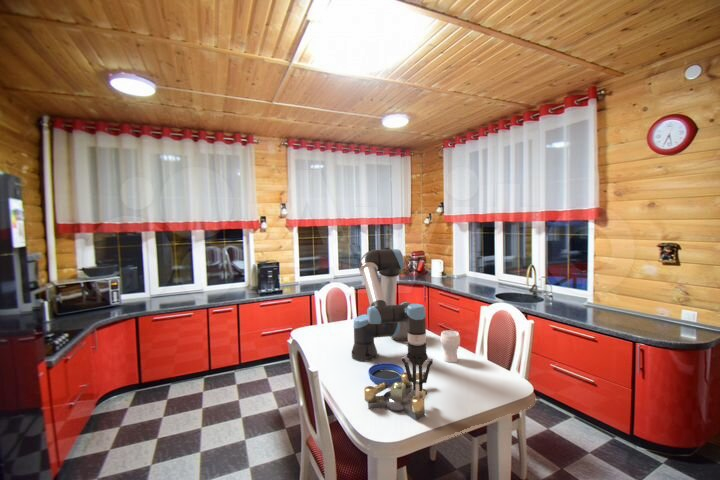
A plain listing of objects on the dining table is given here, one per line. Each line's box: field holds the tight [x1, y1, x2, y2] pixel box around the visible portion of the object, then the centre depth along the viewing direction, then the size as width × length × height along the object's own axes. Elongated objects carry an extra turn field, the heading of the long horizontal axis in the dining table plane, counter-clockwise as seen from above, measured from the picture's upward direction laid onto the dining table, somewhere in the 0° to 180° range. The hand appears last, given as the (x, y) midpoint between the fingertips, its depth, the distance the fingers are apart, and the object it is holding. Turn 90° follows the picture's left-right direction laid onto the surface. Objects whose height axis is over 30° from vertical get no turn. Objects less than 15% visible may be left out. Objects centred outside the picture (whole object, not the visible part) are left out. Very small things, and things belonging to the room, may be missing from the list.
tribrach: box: [367, 382, 426, 421], centre depth 136 cm, size 25×22×9 cm
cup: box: [439, 330, 461, 364], centre depth 176 cm, size 11×11×15 cm
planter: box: [390, 322, 408, 341], centre depth 211 cm, size 20×20×19 cm
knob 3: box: [364, 382, 389, 403], centre depth 136 cm, size 13×5×4 cm, turn 133°
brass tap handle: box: [400, 371, 426, 387], centre depth 147 cm, size 13×5×4 cm, turn 109°
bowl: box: [368, 362, 405, 386], centre depth 158 cm, size 18×18×4 cm
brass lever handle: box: [412, 388, 428, 414], centre depth 128 cm, size 13×5×4 cm, turn 154°
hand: (418, 397), depth 131 cm, fingers closed
